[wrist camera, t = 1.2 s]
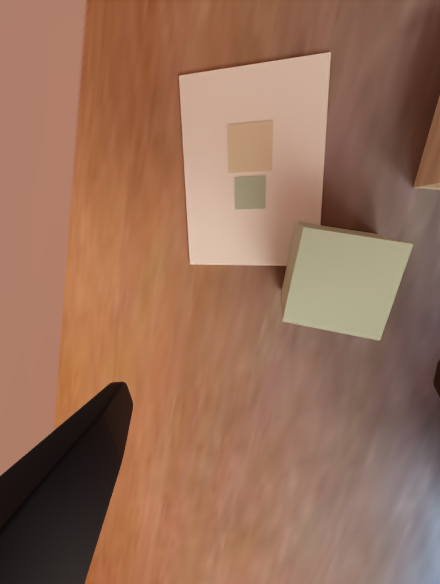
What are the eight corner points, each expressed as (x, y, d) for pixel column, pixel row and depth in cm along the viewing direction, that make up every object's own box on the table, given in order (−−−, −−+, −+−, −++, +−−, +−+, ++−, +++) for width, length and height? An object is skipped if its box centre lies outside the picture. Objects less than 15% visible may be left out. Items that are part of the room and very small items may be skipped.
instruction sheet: (330, 53, 16) (331, 51, 16) (317, 265, 19) (317, 266, 19) (180, 77, 18) (178, 74, 18) (190, 263, 22) (189, 264, 21)
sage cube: (377, 233, 18) (413, 243, 13) (355, 308, 20) (379, 340, 15) (296, 221, 19) (303, 227, 14) (280, 294, 20) (282, 321, 16)
